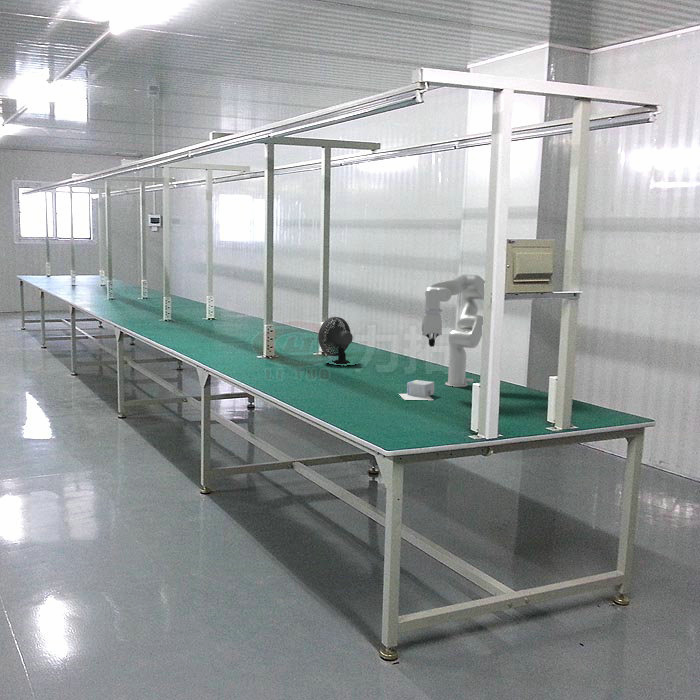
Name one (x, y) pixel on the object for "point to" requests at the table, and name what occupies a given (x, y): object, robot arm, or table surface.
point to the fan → (335, 338)
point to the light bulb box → (420, 388)
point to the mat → (414, 397)
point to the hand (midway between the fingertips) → (431, 346)
